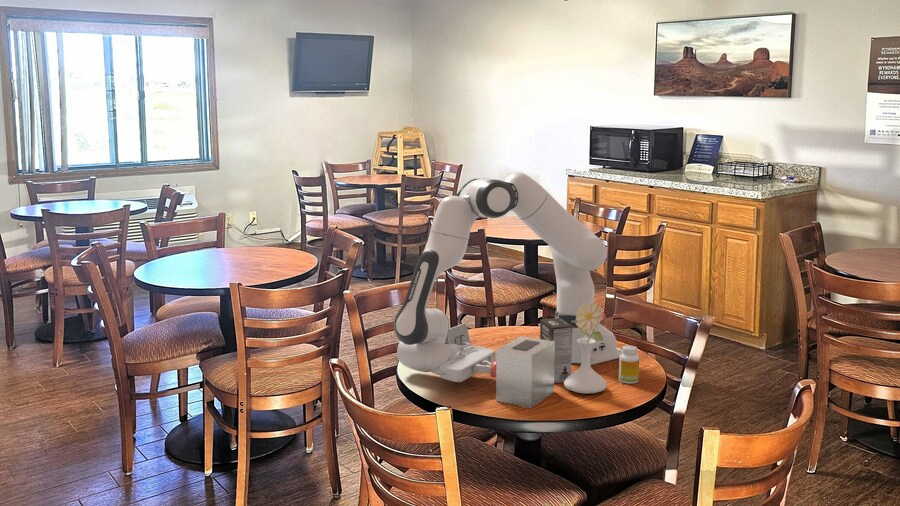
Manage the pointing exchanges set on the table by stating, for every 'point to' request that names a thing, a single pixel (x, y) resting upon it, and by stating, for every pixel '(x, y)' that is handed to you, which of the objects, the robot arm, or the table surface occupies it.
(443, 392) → the table surface
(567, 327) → the coffee box
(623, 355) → the supplement bottle
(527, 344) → the box
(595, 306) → the flower in vase
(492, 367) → the breaker plunger
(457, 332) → the electrical switch
